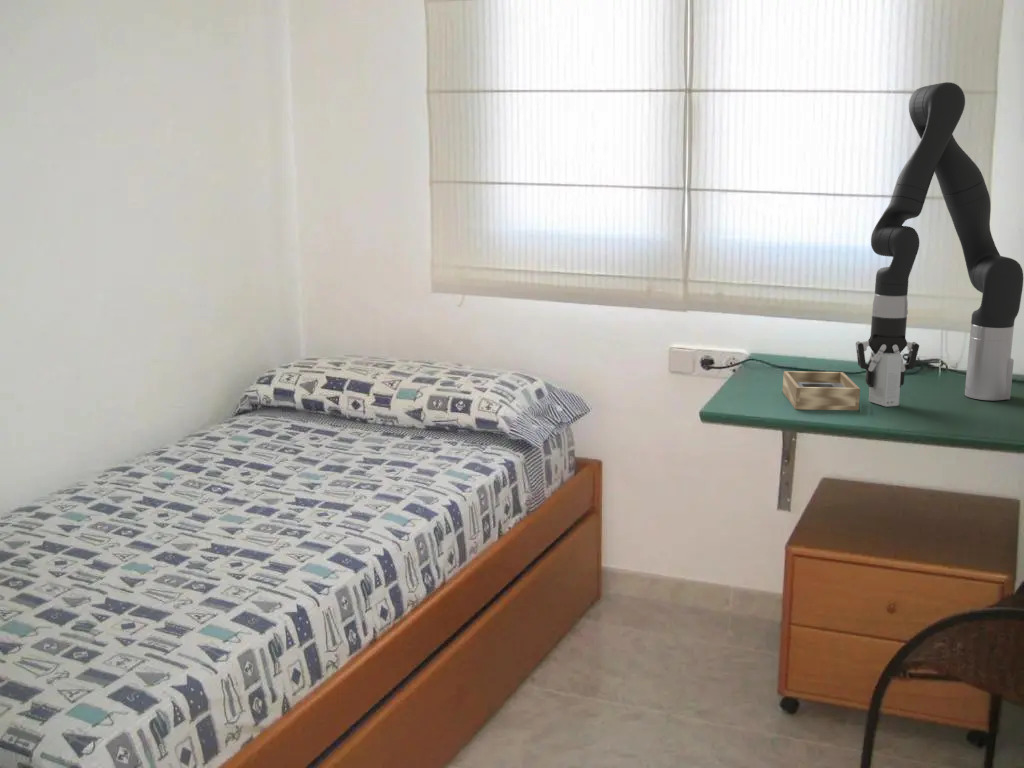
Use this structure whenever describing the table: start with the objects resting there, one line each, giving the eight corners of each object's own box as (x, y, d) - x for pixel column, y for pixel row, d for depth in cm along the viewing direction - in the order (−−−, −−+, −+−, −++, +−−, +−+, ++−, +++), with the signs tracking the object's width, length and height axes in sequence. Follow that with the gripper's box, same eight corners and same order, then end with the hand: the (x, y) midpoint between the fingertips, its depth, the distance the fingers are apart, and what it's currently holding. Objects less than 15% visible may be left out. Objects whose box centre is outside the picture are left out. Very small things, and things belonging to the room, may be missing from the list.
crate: (841, 392, 269) (842, 372, 268) (858, 410, 252) (860, 388, 250) (782, 391, 270) (783, 371, 269) (795, 409, 253) (796, 387, 251)
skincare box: (899, 406, 256) (904, 353, 253) (883, 407, 254) (887, 354, 252) (882, 400, 261) (886, 349, 259) (866, 401, 260) (870, 350, 257)
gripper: (917, 311, 256) (911, 383, 260) (853, 311, 257) (848, 382, 261) (926, 317, 249) (920, 391, 253) (860, 316, 250) (855, 390, 254)
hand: (884, 386), depth 257 cm, fingers closed on skincare box, 5 cm apart
